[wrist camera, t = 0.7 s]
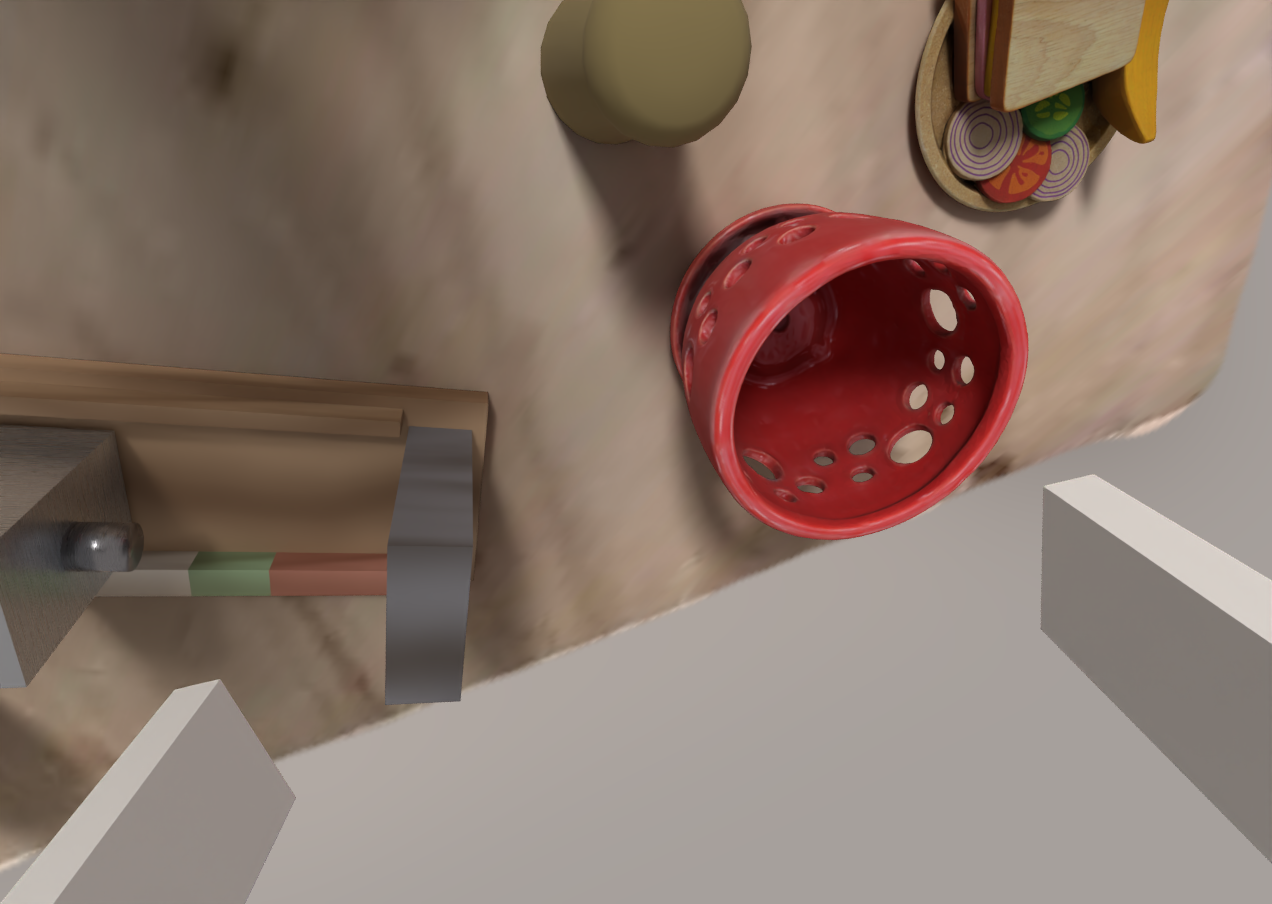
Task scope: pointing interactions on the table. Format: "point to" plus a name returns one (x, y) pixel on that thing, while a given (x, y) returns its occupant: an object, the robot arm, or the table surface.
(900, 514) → the plant pot
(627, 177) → the table surface
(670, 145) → the olive knobbed pawn
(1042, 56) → the toy sandwich meal
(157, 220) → the table surface
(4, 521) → the grey cube with stick
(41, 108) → the table surface
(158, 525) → the brown grey l-shaped piece
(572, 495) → the table surface
